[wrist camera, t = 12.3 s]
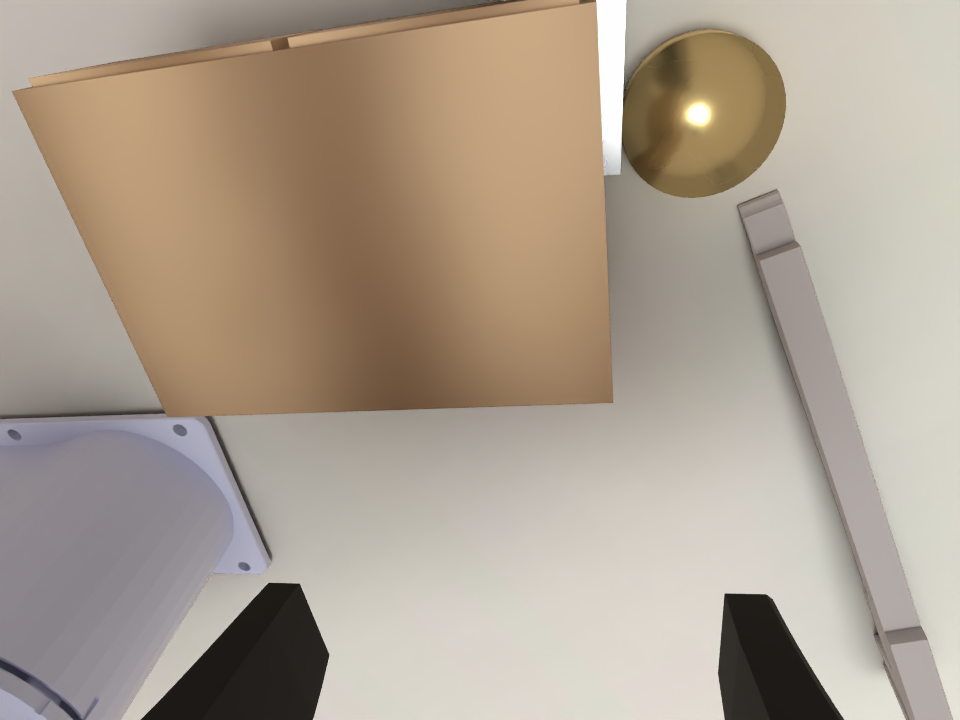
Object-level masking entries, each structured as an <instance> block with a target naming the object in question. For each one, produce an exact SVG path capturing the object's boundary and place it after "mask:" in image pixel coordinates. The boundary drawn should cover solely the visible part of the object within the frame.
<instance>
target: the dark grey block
mask: <svg viewBox="0 0 960 720" xmlns="http://www.w3.org/2000/svg"><path fill="white" fill-rule="evenodd" d="M503 1H505V0H503ZM596 1H597V18H598V43H599V67H600V92H601V117H602V141H603V166H604V175H620V171H621V140H622V109H623V79H624V48H625V17H626V0H596Z"/></svg>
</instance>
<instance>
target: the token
mask: <svg viewBox="0 0 960 720" xmlns="http://www.w3.org/2000/svg"><path fill="white" fill-rule="evenodd" d="M785 110H786V94H785V88H784V83H783V80H782V77H781V74H780V72H779V70H778V68H777V66H776V64H775V63H774V62H773V60H772V59H771V57H770V56H769V55H768V54H767V53H766V52H765V51H764V50H763V49H762V48H760V47H759V46H758V45H756V44H755V43H754V42H752V41H750V40H748V39H746V38H743V37H741V36H738V35H736V34H733V33H730V32H727V31H722V30H715V29H703V30H695V31H691V32H687V33H683V34H681V35H678V36H676V37H673V38H671V39H670V40H668V41H666V42H664V43H663V44H661V45H660V46H659V47H657V48H656V49H654V50H653V51H652V52H651V53H650V54H649V55H648V56H647V57H646V58H645V59H644V60H643V61H642V62H641V64H640V65H639V66H638V67H637V69H636V70H635V72H634V73H633V75H632V77H631V79H630V81H629V82H628V84H627V87H626V90H625V92H624V95H623V109H622V141H623V145H624V148H625V152H626V155H627V157H628V159H629V161H630V163H631V165H632V166H633V168H634V169H635V171H636V172H637V173H638V174H639V176H640V177H641V178H642V179H643V180H645V181H646V182H647V183H648V184H649V185H651V186H653V187H654V188H656V189H658V190H660V191H662V192H664V193H667V194H670V195H673V196H679V197H689V198H695V197H705V196H710V195H714V194H717V193H720V192H723V191H725V190H728V189H730V188H732V187H734V186H736V185H737V184H739V183H741V182H742V181H744V180H745V179H746V178H747V177H749V176H750V175H751V174H752V173H753V172H755V171H756V170H757V169H758V168H759V167H760V166H761V164H762V163H763V162H764V161H765V160H766V158H767V157H768V156H769V154H770V153H771V151H772V149H773V148H774V146H775V144H776V142H777V140H778V138H779V135H780V132H781V130H782V127H783V122H784V118H785Z"/></svg>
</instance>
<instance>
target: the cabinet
mask: <svg viewBox="0 0 960 720" xmlns="http://www.w3.org/2000/svg"><path fill="white" fill-rule="evenodd" d="M28 79H29V81H30V83H31V85H32V87H30V88H26V89H21V90H16V91H12V92H13V95H14V97H15V99H16V101H17V103H18V105H19V107H20V109H21V111H22V113H23V116H24V118H25V120H26V122H27V124H28V126H29V128H30V130H31V132H32V134H33V136H34V139H35V141H36V143H37V145H38V147H39V149H40V151H41V153H42V155H43V157H44V160H45V162H46V164H47V166H48V168H49V170H50V172H51V174H52V176H53V178H54V180H55V183H56V185H57V187H58V189H59V191H60V193H61V195H62V197H63V199H64V201H65V203H66V206H67V208H68V210H69V212H70V214H71V216H72V218H73V220H74V222H75V224H76V227H77V229H78V231H79V233H80V235H81V237H82V239H83V241H84V243H85V245H86V247H87V250H88V252H89V254H90V256H91V258H92V260H93V262H94V264H95V266H96V268H97V270H98V273H99V275H100V277H101V279H102V281H103V283H104V285H105V287H106V289H107V291H108V294H109V296H110V298H111V300H112V302H113V304H114V306H115V308H116V310H117V312H118V314H119V317H120V319H121V321H122V323H123V325H124V327H125V329H126V331H127V333H128V335H129V338H130V340H131V342H132V344H133V346H134V348H135V350H136V352H137V354H138V356H139V358H140V361H141V363H142V365H143V367H144V369H145V371H146V373H147V375H148V377H149V379H150V381H151V384H152V386H153V388H154V390H155V392H156V394H157V396H158V398H159V400H160V402H161V405H162V407H163V409H164V411H165V413H166V415H167V417H194V416H225V415H255V414H286V413H316V412H347V411H377V410H408V409H438V408H469V407H499V406H530V405H560V404H590V403H613V388H612V364H611V339H610V314H609V290H608V265H607V240H606V216H605V191H604V166H603V141H602V117H601V92H600V67H599V43H598V18H597V1H596V0H505V1H499V2H492V3H486V4H480V5H473V6H467V7H461V8H454V9H448V10H442V11H435V12H429V13H423V14H416V15H410V16H403V17H397V18H391V19H384V20H378V21H372V22H365V23H359V24H353V25H346V26H340V27H335V28H330V29H326V30H323V29H321V30H315V31H308V32H302V33H296V34H289V35H283V36H277V37H270V38H264V39H258V40H251V41H245V42H239V43H232V44H226V45H220V46H213V47H207V48H201V49H194V50H188V51H182V52H175V53H169V54H163V55H156V56H150V57H144V58H137V59H131V60H125V61H118V62H112V63H107V64H102V65H97V66H91V67H86V68H81V69H76V70H70V71H65V72H60V73H55V74H49V75H44V76H39V77H33V78H28Z"/></svg>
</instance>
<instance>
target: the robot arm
mask: <svg viewBox="0 0 960 720" xmlns="http://www.w3.org/2000/svg"><path fill="white" fill-rule="evenodd" d="M181 425H182V426H183V427H185V428H186V429H185V428H183V427H181ZM270 564H271V562H270V559H269V556H268V554H267V552H266V550H265V547H264V545H263V543H262V541H261V538H260V536H259V534H258V531H257V529H256V527H255V525H254V522H253V520H252V518H251V515H250V513H249V511H248V509H247V506H246V504H245V502H244V499H243V497H242V495H241V493H240V490H239V488H238V486H237V484H236V481H235V479H234V477H233V474H232V472H231V470H230V468H229V465H228V463H227V461H226V458H225V456H224V454H223V452H222V449H221V447H220V445H219V442H218V440H217V438H216V436H215V433H214V431H213V429H212V426H211V424H210V422H209V421H208V419H207V418H205V417H204V416H194V417H167V415H166V414H137V415H108V416H79V417H49V418H20V419H0V720H121V719H122V717H123V715H124V714H125V712H126V711H127V709H128V707H129V706H130V704H131V703H132V701H133V699H134V698H135V696H136V695H137V693H138V691H139V690H140V688H141V687H142V685H143V683H144V682H145V680H146V679H147V677H148V675H149V674H150V672H151V670H152V669H153V667H154V666H155V664H156V662H157V661H158V659H159V658H160V656H161V654H162V653H163V651H164V650H165V648H166V646H167V645H168V643H169V642H170V640H171V638H172V637H173V635H174V633H175V632H176V630H177V629H178V627H179V625H180V624H181V622H182V621H183V619H184V617H185V616H186V614H187V613H188V611H189V609H190V608H191V606H192V605H193V603H194V601H195V600H196V598H197V597H198V595H199V593H200V592H201V590H202V588H203V587H204V585H205V584H206V582H207V580H208V579H209V577H210V576H211V574H212V573H220V574H264V573H265V572H267V570H268V568H269V566H270ZM328 659H329V653H328V651H327V648H326V646H325V643H324V641H323V639H322V636H321V634H320V631H319V629H318V627H317V624H316V622H315V619H314V617H313V615H312V612H311V610H310V607H309V605H308V603H307V600H306V598H305V595H304V593H303V590H302V588H301V586H300V584H292V583H268V584H267V585H266V586H265V587H264V588H263V590H262V591H261V592H260V593H259V594H258V595H257V596H256V597H255V598H254V599H253V600H252V601H251V602H250V603H249V605H248V606H247V607H246V608H245V609H244V610H243V611H242V612H241V613H240V614H239V616H238V617H237V618H236V619H235V620H234V621H233V622H232V623H231V624H230V625H229V627H228V628H227V629H226V630H225V631H224V632H223V633H222V634H221V635H220V636H219V638H218V639H217V640H216V641H215V642H214V643H213V644H212V645H211V646H210V647H209V649H208V650H207V651H206V652H205V653H204V654H203V655H202V656H201V657H200V658H199V659H198V660H197V662H196V663H195V664H194V665H193V666H192V667H191V668H190V669H189V670H188V671H187V672H186V673H185V674H184V675H183V676H182V678H181V679H180V680H179V681H178V682H177V683H176V684H175V685H174V686H173V687H172V688H171V689H170V690H169V691H168V692H167V693H166V695H165V696H164V697H163V698H162V699H161V700H160V701H159V702H158V703H157V704H156V705H155V706H154V707H153V708H152V709H151V710H150V711H149V712H148V713H147V714H146V715H145V716H144V717H143V718H142V719H141V720H313V717H314V714H315V711H316V707H317V703H318V699H319V696H320V692H321V688H322V684H323V680H324V676H325V671H326V667H327V663H328ZM718 676H719V682H720V689H721V696H722V703H723V710H724V717H725V720H844V719H843V717H842V716H841V714H840V713H839V711H838V710H837V708H836V707H835V705H834V704H833V702H832V701H831V699H830V697H829V696H828V694H827V693H826V691H825V690H824V688H823V686H822V685H821V683H820V682H819V680H818V678H817V677H816V675H815V673H814V672H813V670H812V669H811V667H810V665H809V664H808V662H807V660H806V659H805V657H804V655H803V654H802V652H801V650H800V649H799V647H798V645H797V643H796V642H795V640H794V638H793V636H792V635H791V633H790V631H789V629H788V627H787V626H786V624H785V622H784V620H783V618H782V616H781V614H780V613H779V611H778V609H777V607H776V605H775V603H774V601H773V599H771V598H770V597H769V596H768V595H765V594H725V596H724V608H723V620H722V633H721V645H720V657H719V669H718Z"/></svg>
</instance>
